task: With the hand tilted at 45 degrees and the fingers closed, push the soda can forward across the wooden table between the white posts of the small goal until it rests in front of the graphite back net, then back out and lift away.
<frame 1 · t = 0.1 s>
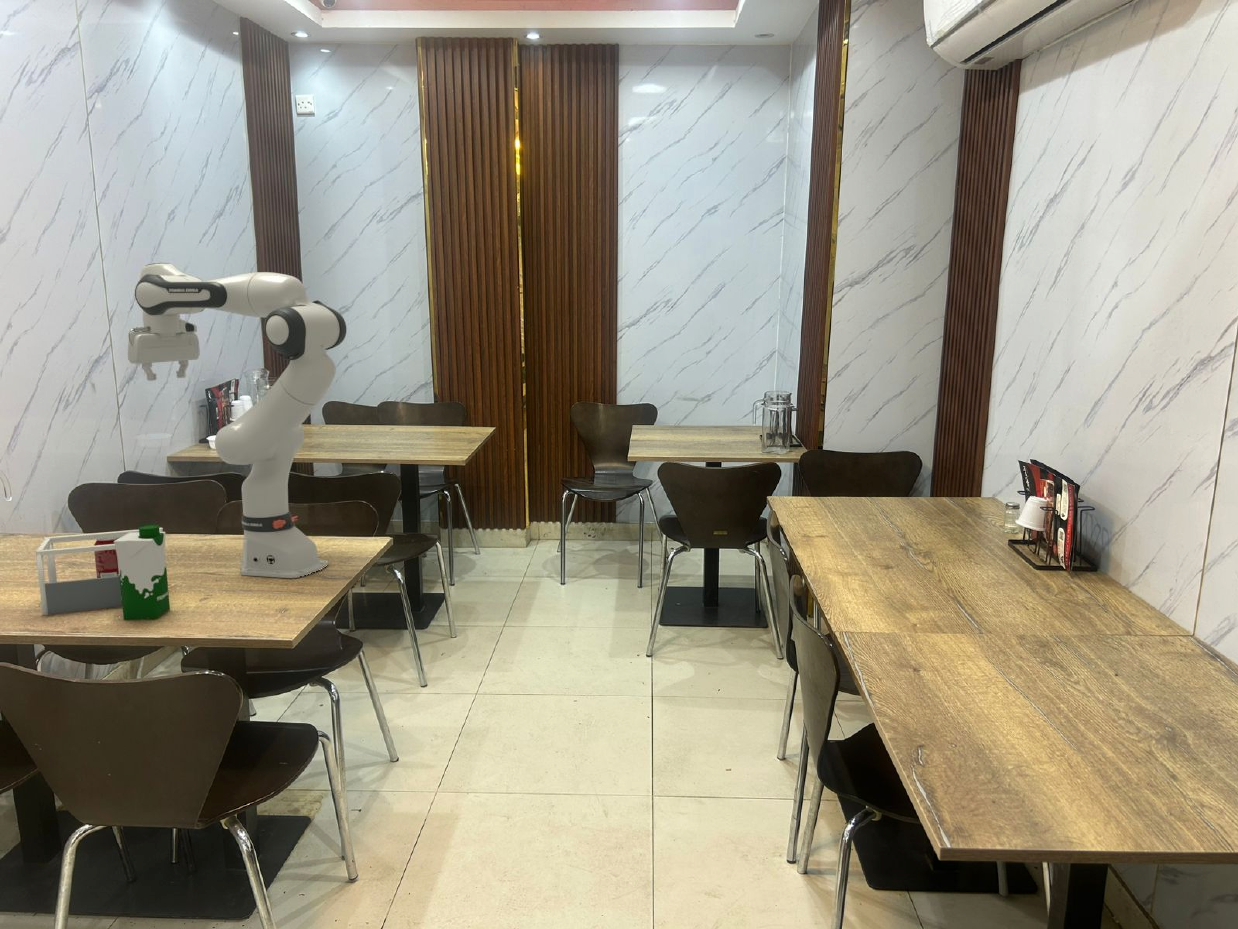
hand: (166, 379, 246), 48 cm above the table, tool pointing down, fingers open, 8 cm apart
soda can: (113, 585, 228), on the table
goal: (107, 599, 216), on the table
milk carton: (147, 615, 207), on the table
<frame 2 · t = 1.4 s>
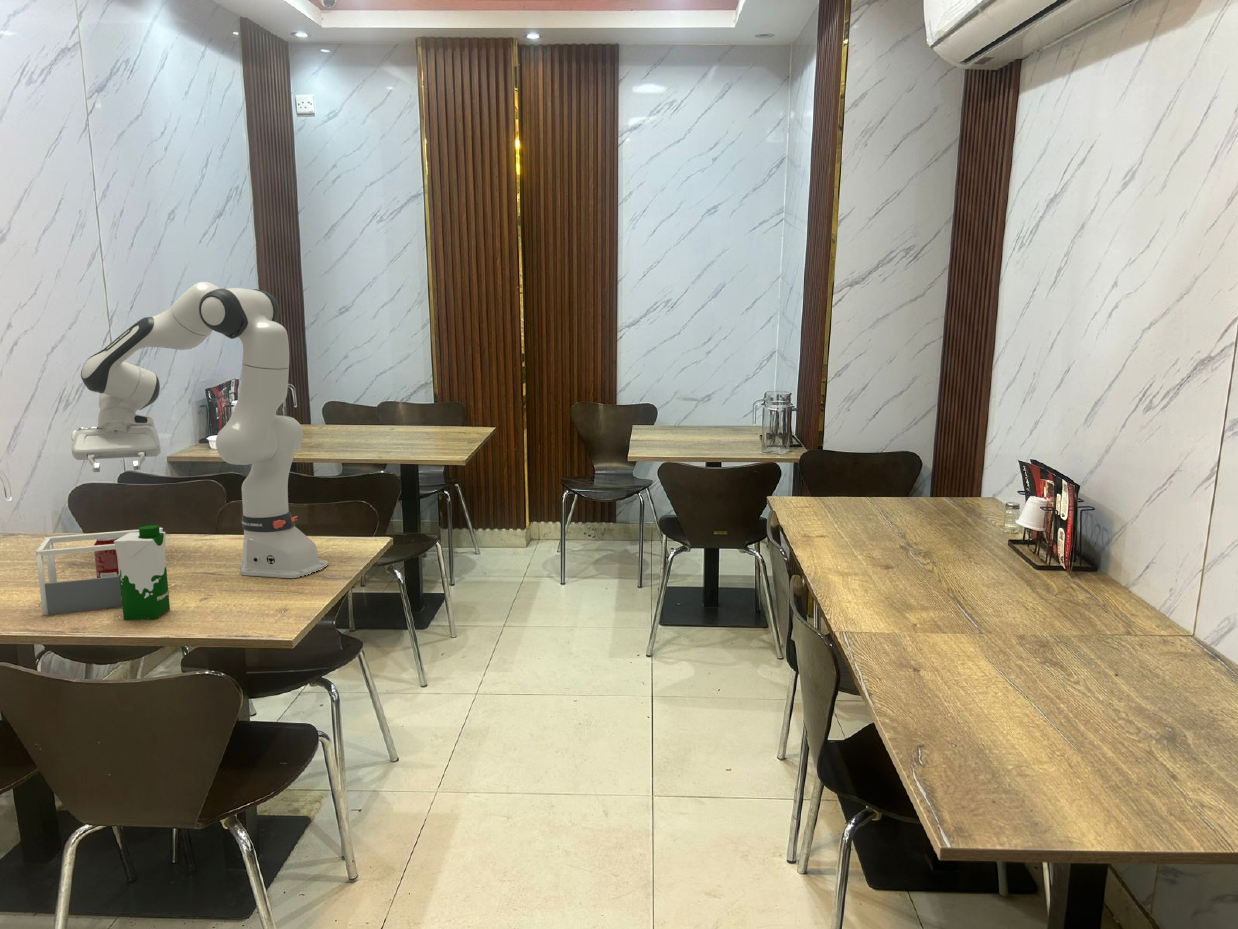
hand: (116, 469, 238), 26 cm above the table, tool tilted 45°, fingers open, 8 cm apart
nothing on the table moved.
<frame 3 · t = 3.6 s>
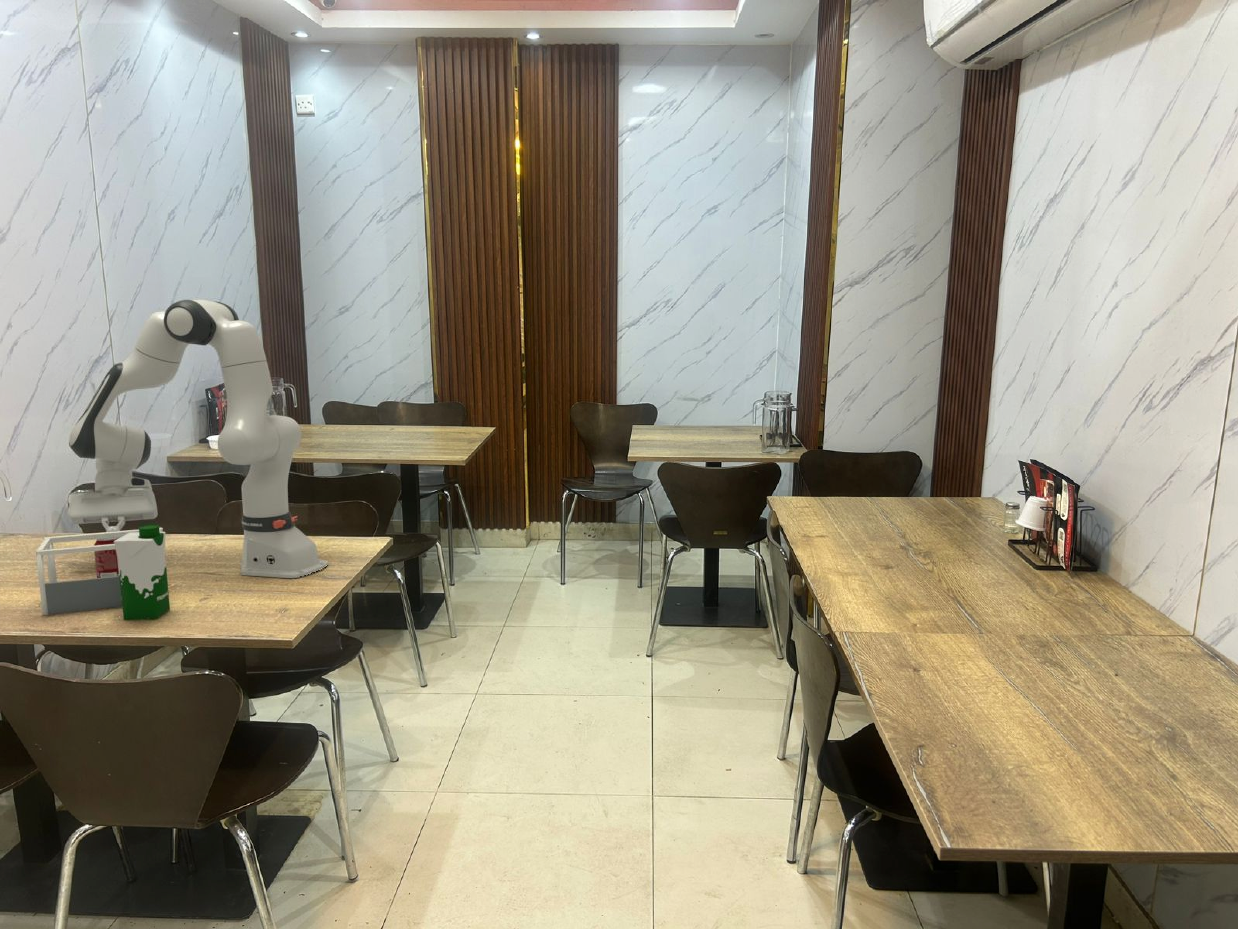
hand: (113, 534, 236), 10 cm above the table, tool tilted 45°, fingers closed
nothing on the table moved.
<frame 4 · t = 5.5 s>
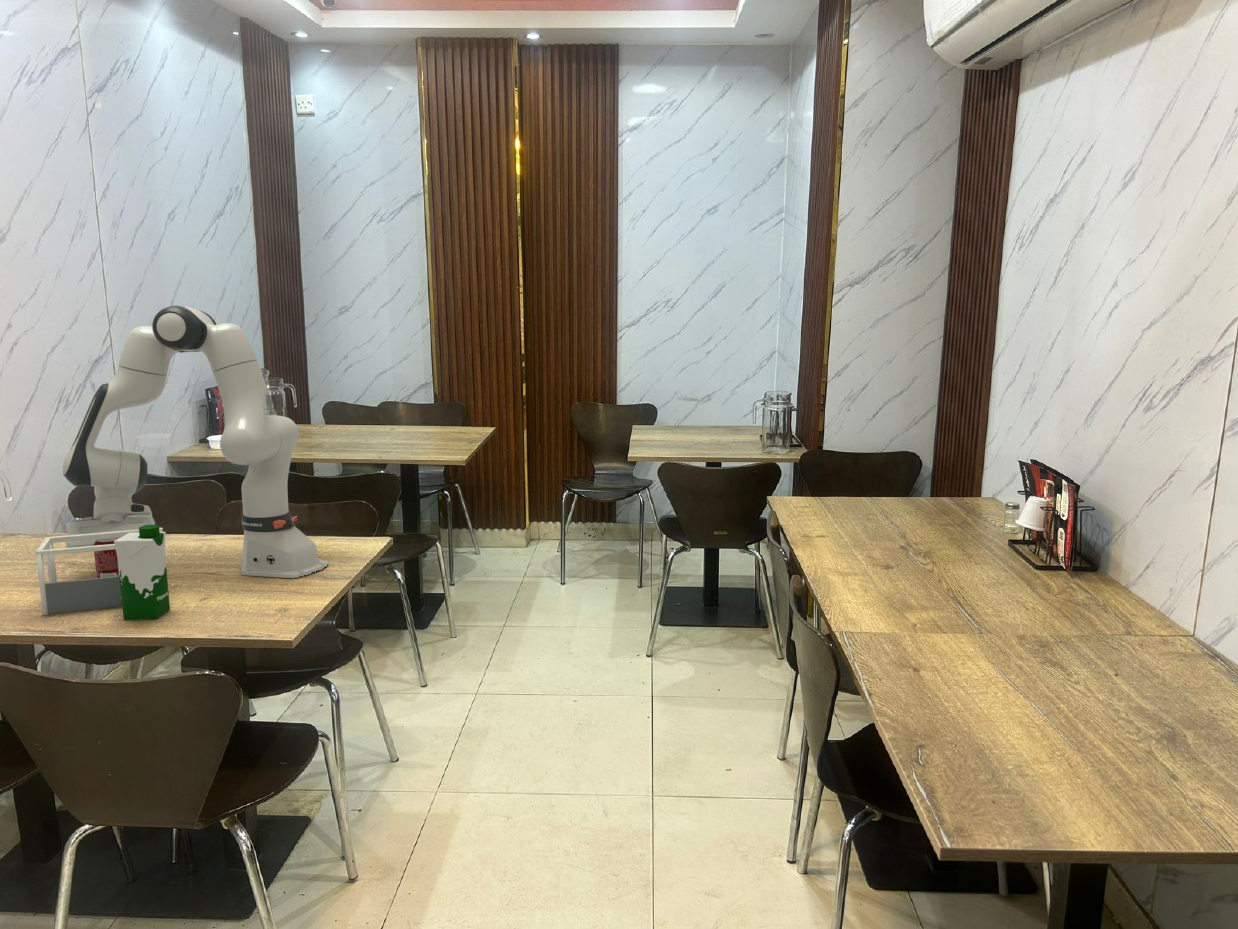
hand: (112, 563, 229), 5 cm above the table, tool tilted 45°, fingers closed
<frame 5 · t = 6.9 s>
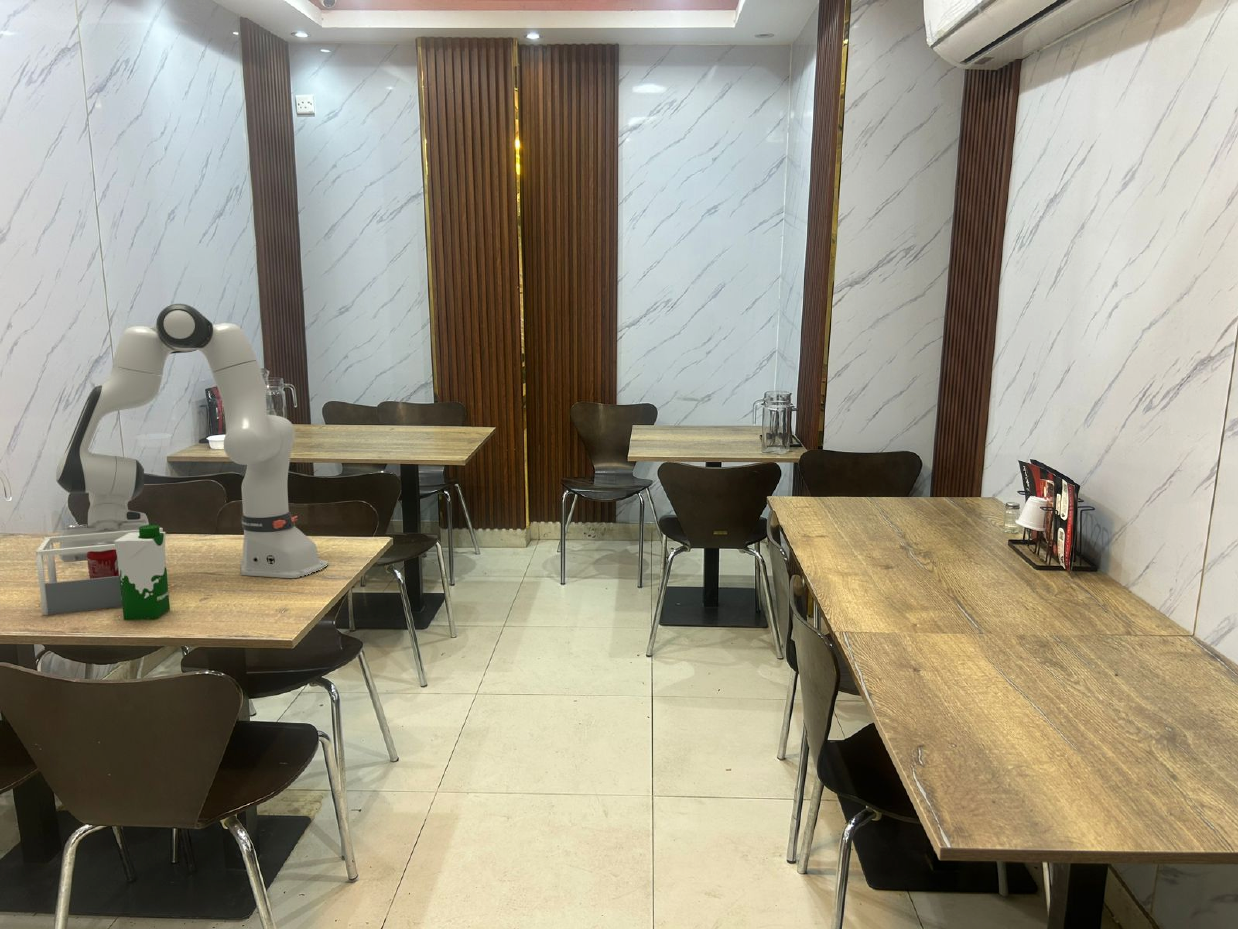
hand: (107, 572, 221), 5 cm above the table, tool tilted 45°, fingers closed, pressing on soda can
soda can: (108, 593, 220), on the table, touching gripper
everything else where it was.
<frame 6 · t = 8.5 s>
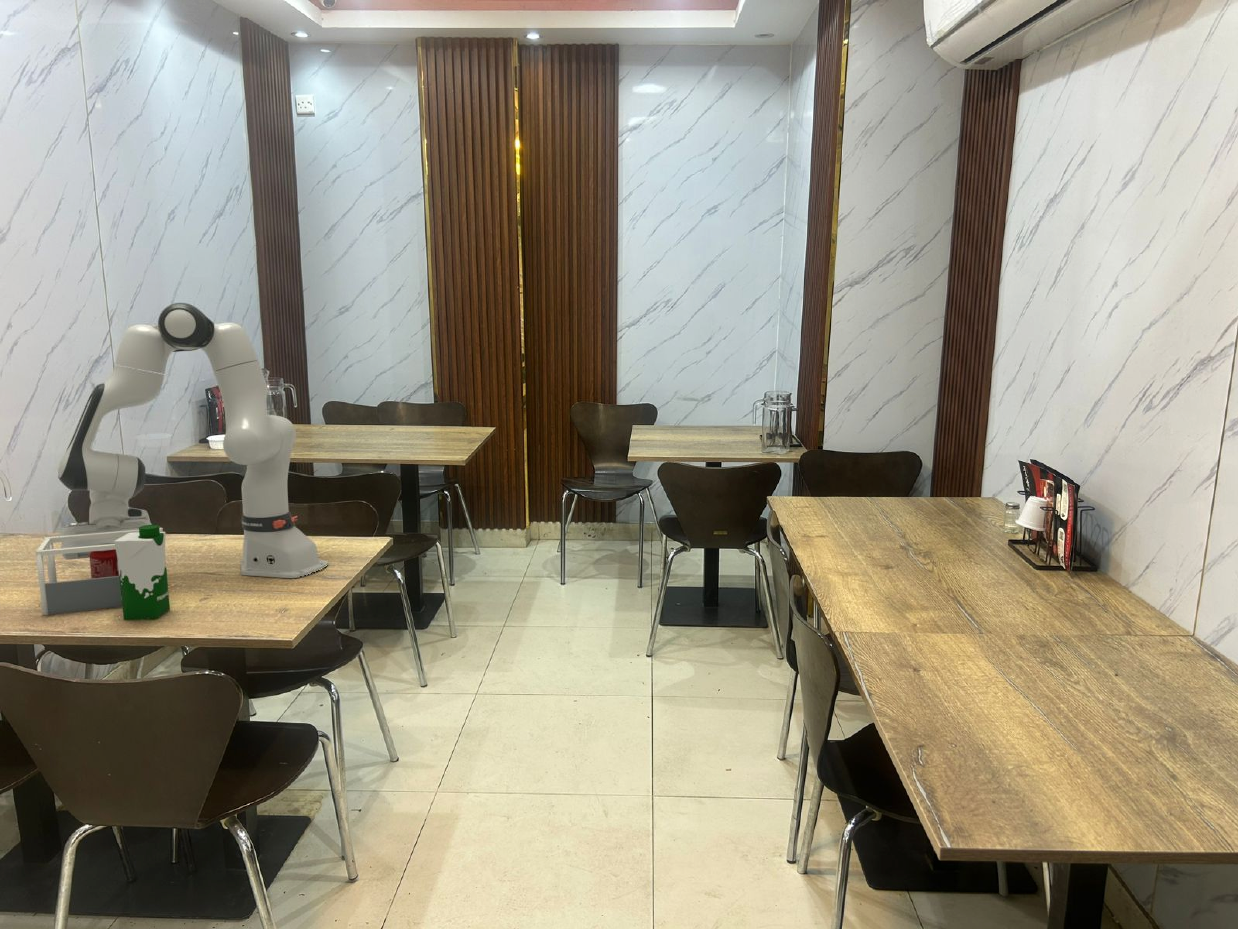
hand: (109, 569, 222), 5 cm above the table, tool tilted 45°, fingers closed
soda can: (109, 595, 219), on the table
everything else where it was.
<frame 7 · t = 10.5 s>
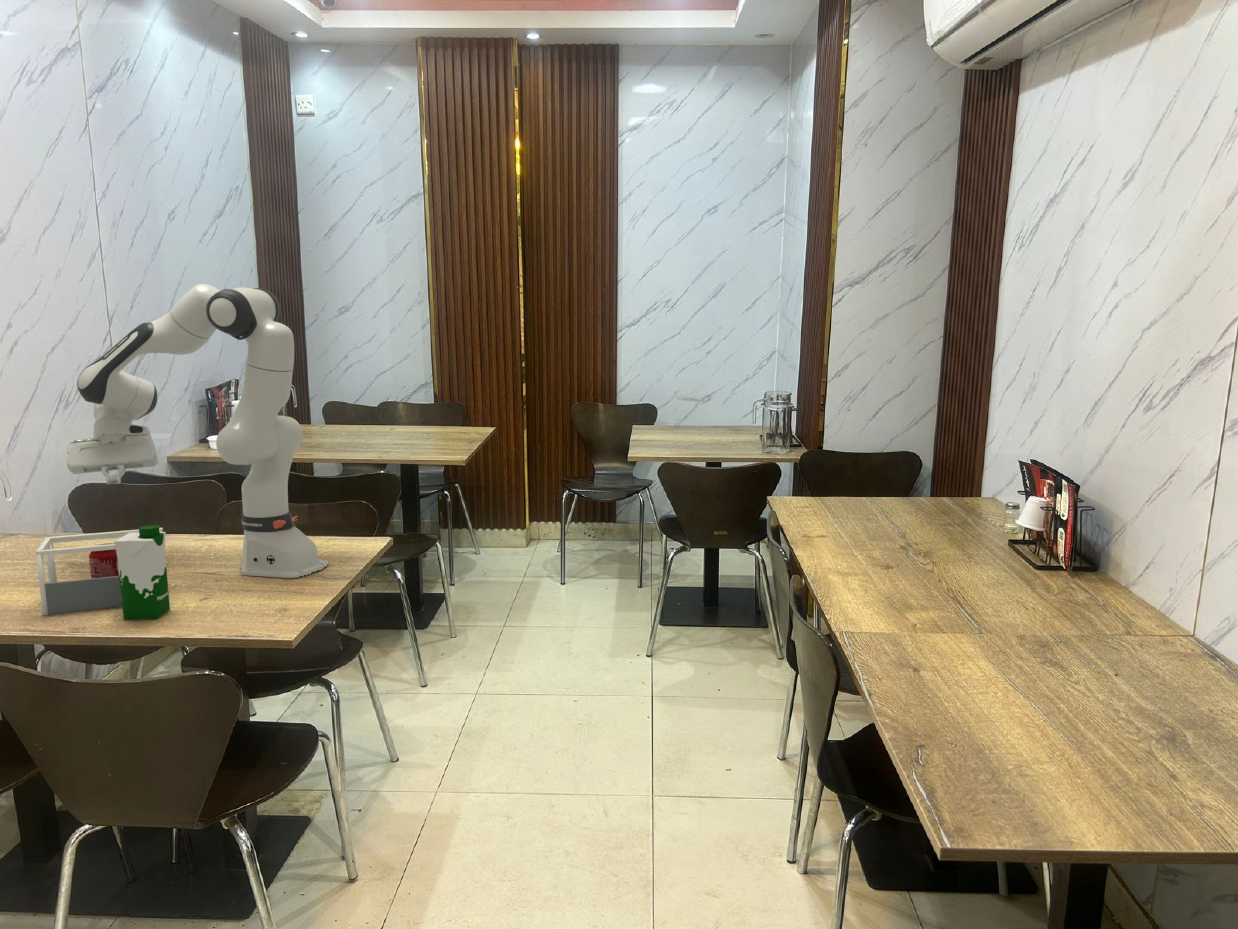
hand: (113, 482, 233), 24 cm above the table, tool tilted 40°, fingers closed
nothing on the table moved.
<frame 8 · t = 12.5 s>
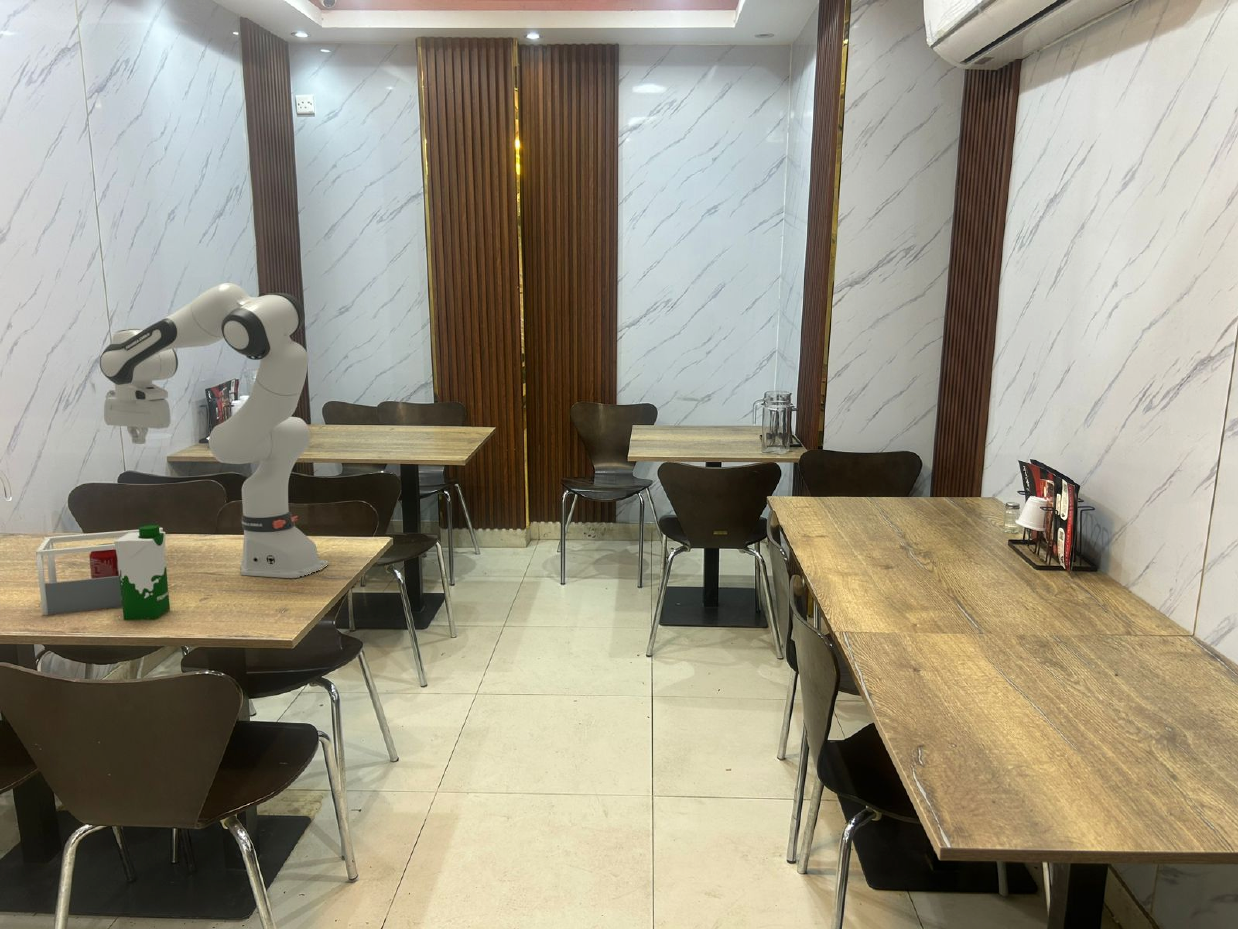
hand: (139, 443, 246), 31 cm above the table, tool pointing down, fingers closed
nothing on the table moved.
at the end: soda can 3.4 cm from the goal (horizontally); soda can tilted 0° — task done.
